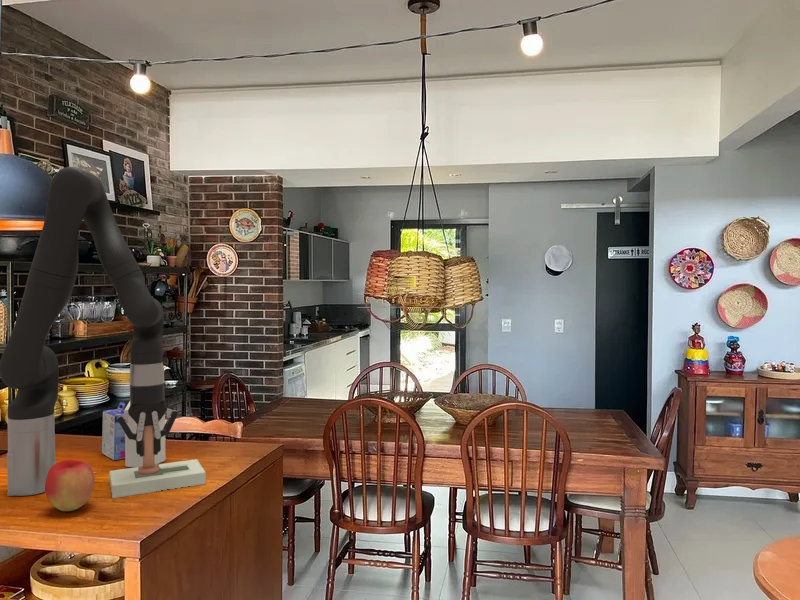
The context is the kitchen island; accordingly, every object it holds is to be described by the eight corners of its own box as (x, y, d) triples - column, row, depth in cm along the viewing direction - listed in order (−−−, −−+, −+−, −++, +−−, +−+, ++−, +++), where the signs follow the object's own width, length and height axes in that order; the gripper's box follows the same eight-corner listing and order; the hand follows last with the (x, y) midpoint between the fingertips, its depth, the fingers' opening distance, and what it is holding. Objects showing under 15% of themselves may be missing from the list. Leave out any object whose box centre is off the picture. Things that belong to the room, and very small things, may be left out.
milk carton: (149, 468, 154) (148, 395, 153) (125, 467, 155) (124, 394, 155) (165, 460, 161) (165, 390, 160) (142, 459, 162) (141, 389, 162)
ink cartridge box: (135, 457, 164) (134, 404, 164) (114, 461, 160) (113, 407, 160) (122, 450, 171) (121, 399, 171) (101, 454, 168) (100, 402, 167)
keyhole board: (112, 498, 133) (112, 485, 133) (110, 482, 143) (109, 470, 143) (205, 484, 142) (205, 472, 142) (196, 470, 153) (196, 459, 153)
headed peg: (139, 476, 138) (138, 428, 138) (137, 470, 143) (136, 424, 142) (160, 472, 141) (159, 426, 140) (158, 467, 145) (157, 422, 144)
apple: (33, 516, 122) (32, 468, 122) (65, 500, 132) (65, 455, 131) (76, 519, 121) (76, 470, 121) (106, 502, 130) (105, 456, 130)
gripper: (115, 387, 134) (116, 463, 135) (180, 381, 141) (182, 454, 141) (113, 382, 141) (115, 455, 142) (176, 377, 148) (177, 447, 148)
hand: (148, 454), depth 142 cm, fingers closed on headed peg, 2 cm apart
